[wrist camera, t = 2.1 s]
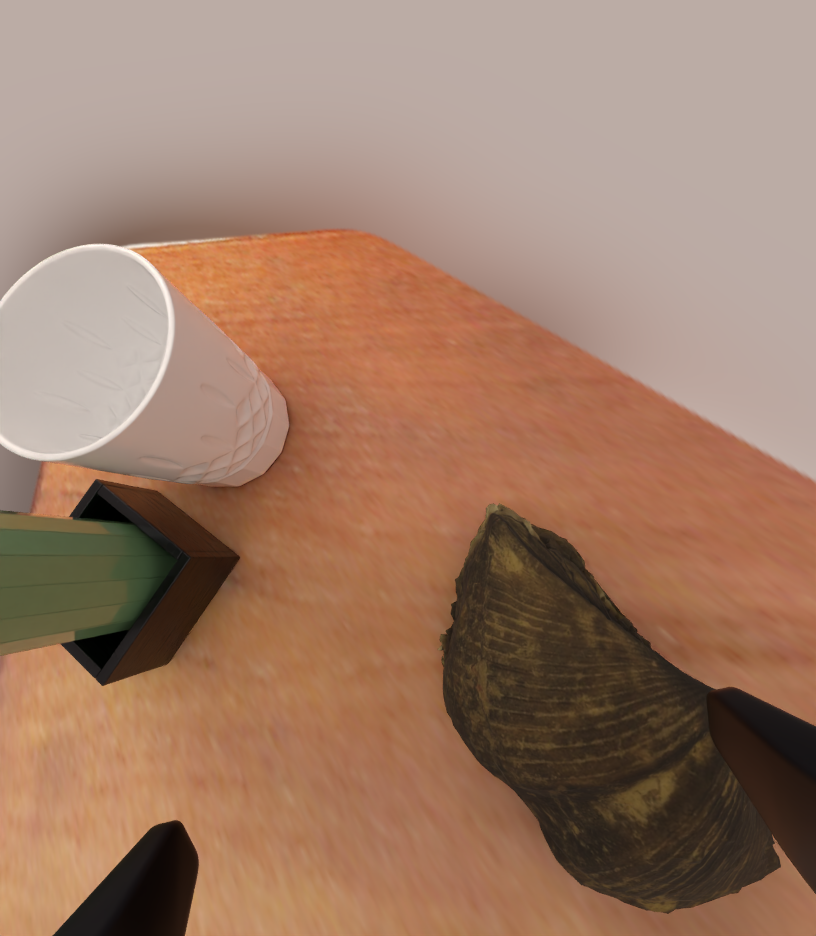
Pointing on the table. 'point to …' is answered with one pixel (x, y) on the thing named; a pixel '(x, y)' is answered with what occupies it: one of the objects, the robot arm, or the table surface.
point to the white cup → (129, 376)
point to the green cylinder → (73, 578)
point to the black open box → (176, 597)
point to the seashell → (593, 727)
